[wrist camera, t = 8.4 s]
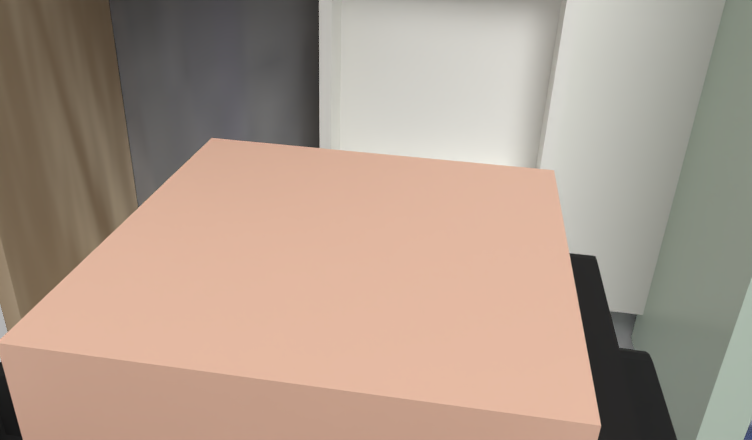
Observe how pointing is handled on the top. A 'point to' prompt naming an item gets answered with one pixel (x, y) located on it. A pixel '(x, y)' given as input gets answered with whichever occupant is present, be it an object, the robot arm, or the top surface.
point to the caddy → (58, 144)
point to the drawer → (587, 150)
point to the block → (316, 308)
